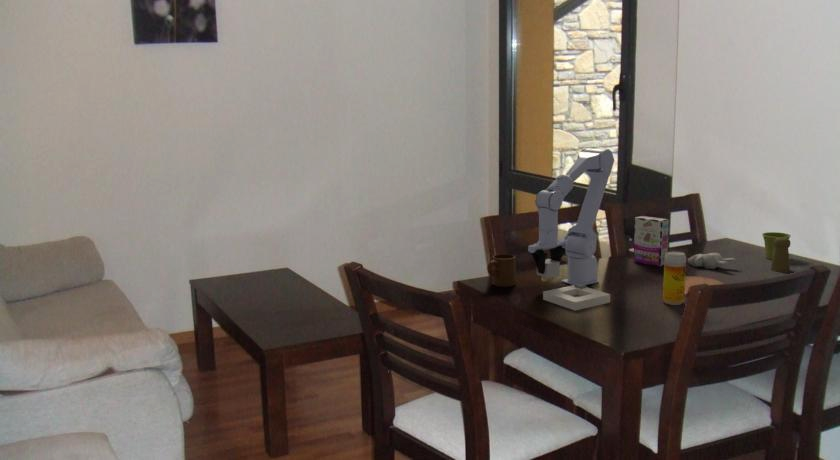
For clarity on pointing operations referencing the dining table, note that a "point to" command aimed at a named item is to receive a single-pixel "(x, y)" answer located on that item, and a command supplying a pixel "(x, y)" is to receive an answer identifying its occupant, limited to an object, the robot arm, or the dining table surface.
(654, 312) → the dining table surface
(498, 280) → the mug
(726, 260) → the bunny figurine
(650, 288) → the dining table surface
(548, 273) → the plug
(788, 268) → the olive tall rounded piece
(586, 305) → the socket
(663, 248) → the candy bar box
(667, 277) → the yellow supplement bottle
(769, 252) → the plant pot
